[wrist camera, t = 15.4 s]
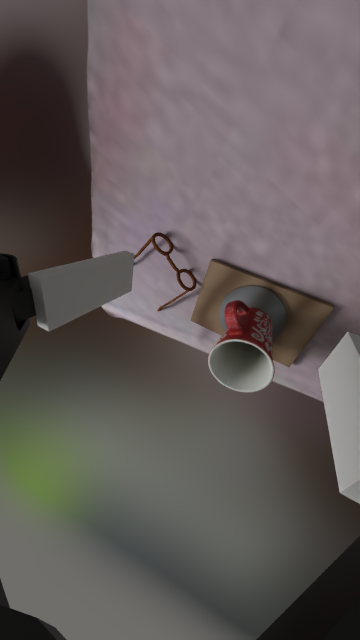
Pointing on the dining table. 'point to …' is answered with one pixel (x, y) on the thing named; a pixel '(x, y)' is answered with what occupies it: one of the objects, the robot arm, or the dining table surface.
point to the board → (261, 308)
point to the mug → (244, 349)
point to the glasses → (170, 263)
